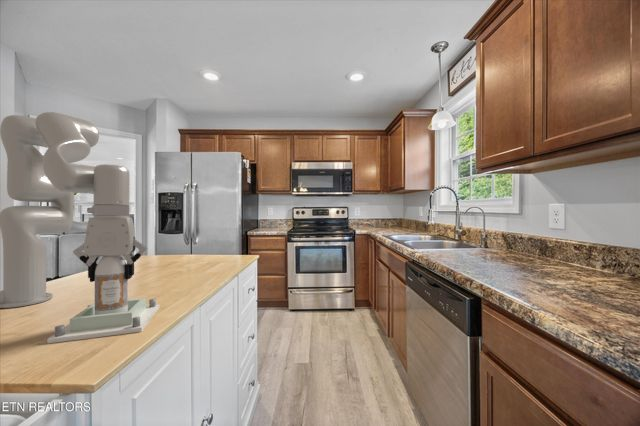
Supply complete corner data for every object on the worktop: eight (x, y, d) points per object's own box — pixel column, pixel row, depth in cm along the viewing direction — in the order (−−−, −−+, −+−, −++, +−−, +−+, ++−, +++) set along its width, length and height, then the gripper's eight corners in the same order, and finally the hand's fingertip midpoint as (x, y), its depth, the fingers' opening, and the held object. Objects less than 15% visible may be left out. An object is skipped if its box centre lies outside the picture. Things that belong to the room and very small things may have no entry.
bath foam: (92, 323, 66) (92, 242, 66) (96, 314, 72) (96, 239, 72) (127, 317, 70) (127, 240, 70) (128, 309, 76) (128, 238, 76)
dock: (47, 343, 60) (47, 325, 60) (87, 314, 77) (87, 300, 77) (141, 331, 65) (141, 315, 65) (159, 307, 82) (159, 294, 82)
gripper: (62, 212, 65) (62, 285, 65) (145, 212, 70) (145, 280, 70) (78, 212, 72) (78, 278, 72) (153, 212, 78) (153, 274, 77)
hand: (111, 278), depth 71 cm, fingers closed on bath foam, 7 cm apart
